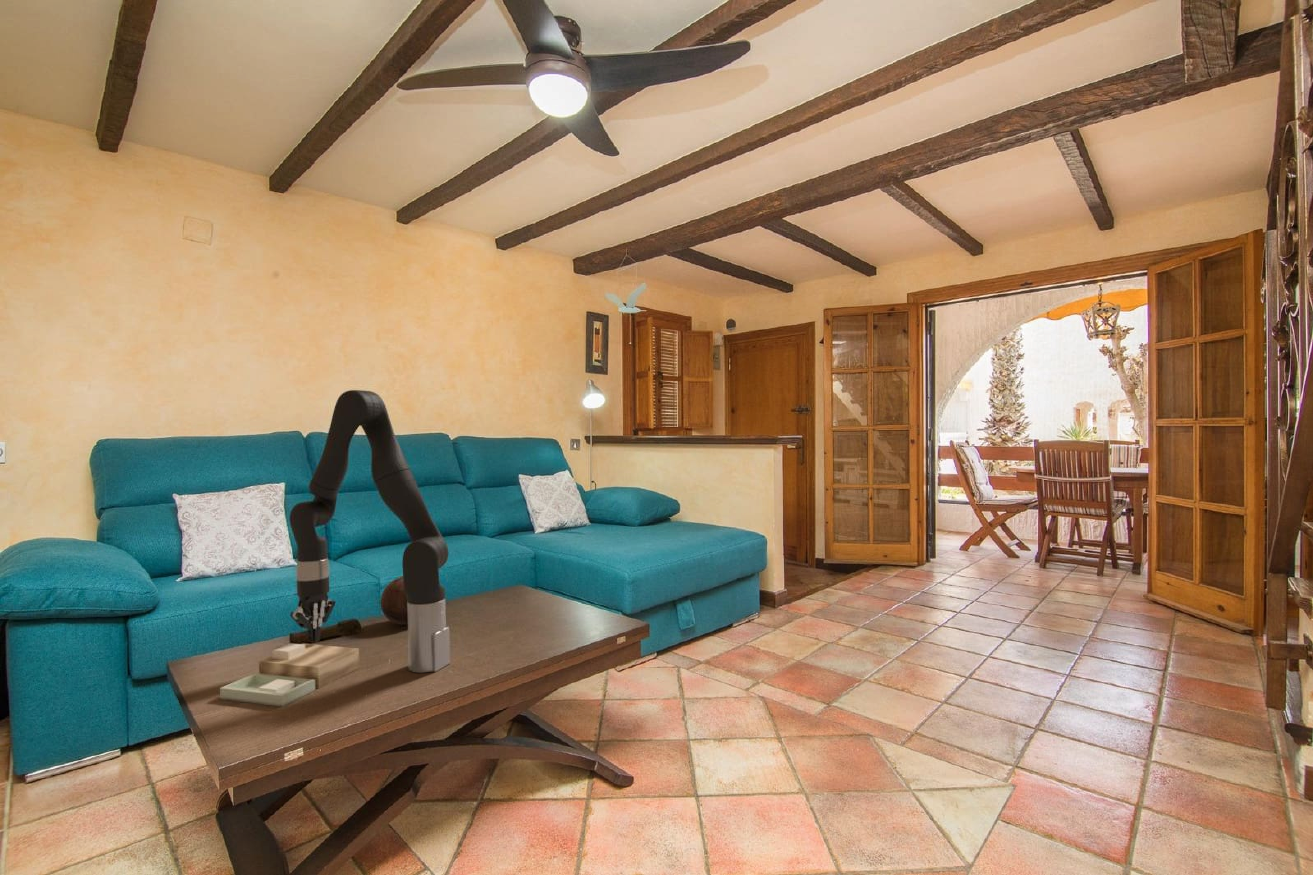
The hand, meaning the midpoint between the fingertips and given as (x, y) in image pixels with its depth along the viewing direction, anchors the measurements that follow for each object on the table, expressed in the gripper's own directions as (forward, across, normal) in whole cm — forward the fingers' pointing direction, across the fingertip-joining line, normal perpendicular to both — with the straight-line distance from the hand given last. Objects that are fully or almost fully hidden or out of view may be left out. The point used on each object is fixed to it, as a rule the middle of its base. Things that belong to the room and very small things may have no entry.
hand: (314, 641), depth 160 cm
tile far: (+1, -8, 0) cm, 8 cm away
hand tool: (+6, +17, +13) cm, 23 cm away
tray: (+6, -18, -5) cm, 20 cm away
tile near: (+3, -18, -7) cm, 20 cm away
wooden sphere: (+6, +35, -1) cm, 36 cm away
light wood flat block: (+6, -6, -5) cm, 10 cm away
